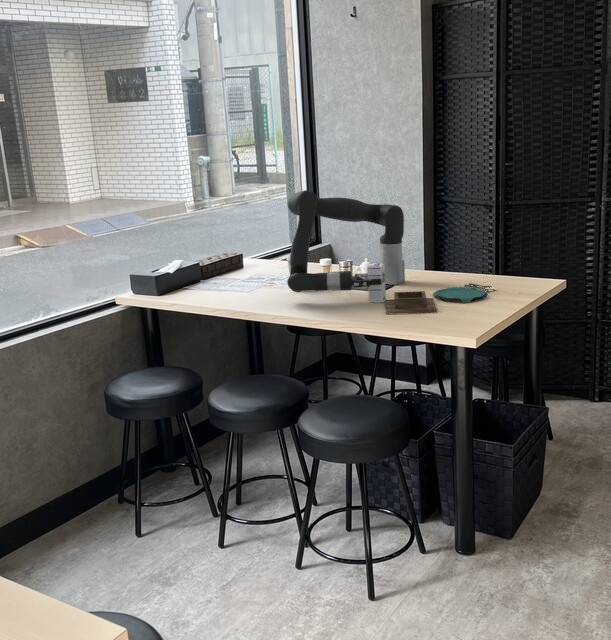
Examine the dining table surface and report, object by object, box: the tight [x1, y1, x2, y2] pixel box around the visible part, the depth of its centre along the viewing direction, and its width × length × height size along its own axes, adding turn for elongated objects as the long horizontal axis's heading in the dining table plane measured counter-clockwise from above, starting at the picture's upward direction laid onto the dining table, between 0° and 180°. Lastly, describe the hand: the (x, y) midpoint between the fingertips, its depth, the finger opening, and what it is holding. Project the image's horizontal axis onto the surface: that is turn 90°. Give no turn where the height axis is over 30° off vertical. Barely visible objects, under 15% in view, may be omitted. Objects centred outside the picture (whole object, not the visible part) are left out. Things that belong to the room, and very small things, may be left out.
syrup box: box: [366, 262, 387, 303], centre depth 298 cm, size 6×6×14 cm
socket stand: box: [385, 290, 438, 315], centre depth 286 cm, size 18×18×5 cm
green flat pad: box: [432, 282, 493, 304], centre depth 301 cm, size 20×30×2 cm, turn 136°
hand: (381, 279), depth 297 cm, fingers open, 8 cm apart
